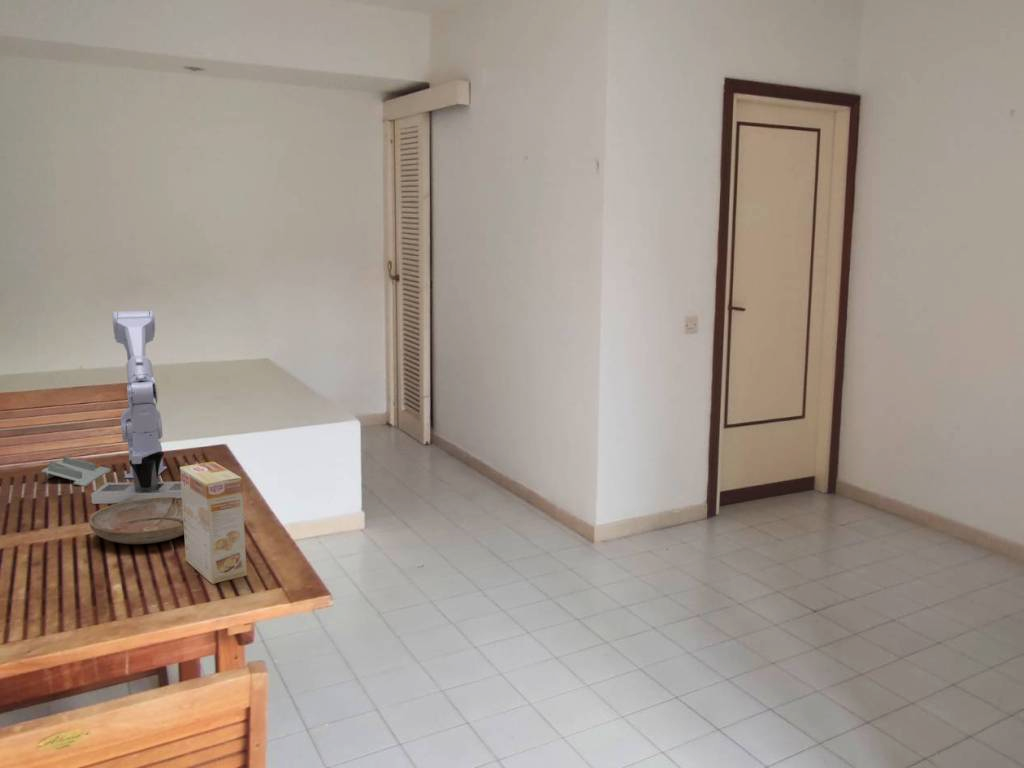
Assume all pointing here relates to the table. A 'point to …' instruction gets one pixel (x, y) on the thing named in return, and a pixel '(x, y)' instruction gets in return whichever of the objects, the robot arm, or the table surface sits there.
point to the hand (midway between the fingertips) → (149, 484)
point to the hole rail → (133, 492)
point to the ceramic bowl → (140, 521)
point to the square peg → (153, 484)
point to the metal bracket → (75, 471)
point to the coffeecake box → (213, 521)
